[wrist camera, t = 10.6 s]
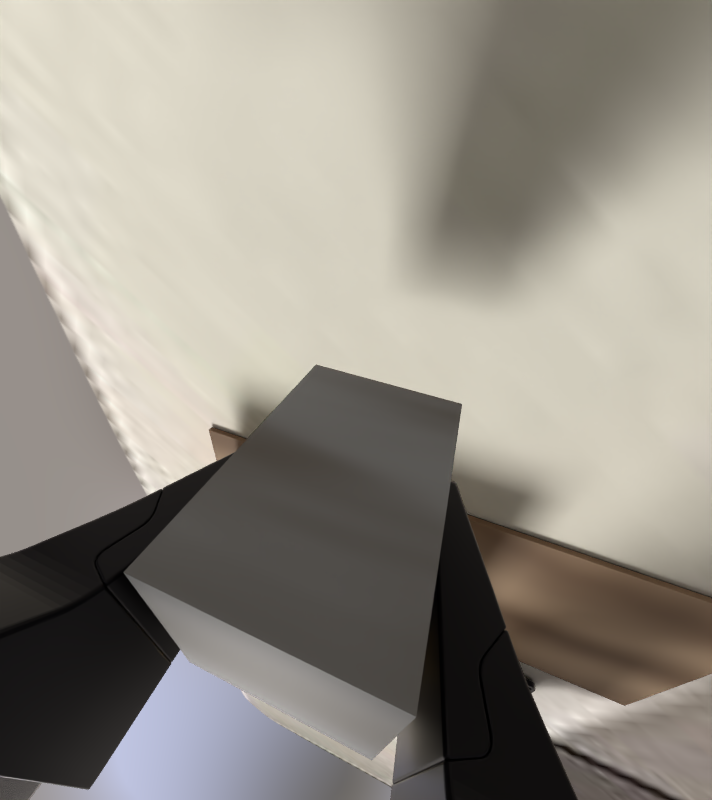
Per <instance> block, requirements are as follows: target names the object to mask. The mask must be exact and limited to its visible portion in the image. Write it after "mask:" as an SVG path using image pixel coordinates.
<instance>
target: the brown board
mask: <svg viewBox="0 0 712 800" xmlns="http://www.w3.org/2000/svg"><path fill="white" fill-rule="evenodd" d="M209 432H210V436H211V440H212V444H213V448H214V452H215V456H216V460H217V461H218V460H220V459H222V458H224V457H226V456H228V455H230V454H232V453H234V452H236V450H237V449H238V448H239V447H240V446H241V445H242V444H243V443H244V442H245V441H246V440H247V439H245V438H242V437H239V436H236V435H233V434H230V433H228V432H225V431H222V430H219V429H216V428H213V427H212V428H211V429H209ZM468 518H469V521H470V524H471V527H472V530H473V532H474V535H475V538H476V541H477V544H478V547H479V550H480V552H481V555H482V558H483V561H484V564H485V567H486V570H487V572H488V575H489V578H490V581H491V584H492V587H493V590H494V592H495V595H496V598H497V601H498V604H499V607H500V610H501V612H502V615H503V618H504V621H505V624H506V629H505V630H507V631H508V632H509V635H510V638H511V641H512V643H513V646H514V649H515V652H516V655H517V658H518V660H519V661H520V662H523V663H525V664H527V665H530V666H532V667H535V668H537V669H539V670H542V671H544V672H546V673H549V674H551V675H553V676H556V677H558V678H560V679H563V680H565V681H568V682H570V683H572V684H575V685H577V686H579V687H582V688H584V689H586V690H589V691H591V692H593V693H596V694H598V695H601V696H603V697H605V698H608V699H610V700H612V701H615V702H617V703H619V704H622V705H624V706H625V705H628V704H630V703H633V702H636V701H639V700H641V699H644V698H647V697H649V696H652V695H655V694H658V693H660V692H663V691H666V690H668V689H671V688H674V687H677V686H679V685H682V684H685V683H687V682H690V681H693V680H696V679H698V678H701V677H704V676H706V675H709V674H712V598H710V597H707V596H704V595H701V594H698V593H695V592H693V591H690V590H687V589H684V588H681V587H678V586H675V585H672V584H669V583H666V582H663V581H660V580H657V579H655V578H652V577H649V576H646V575H643V574H640V573H637V572H634V571H631V570H628V569H625V568H622V567H619V566H617V565H614V564H611V563H608V562H605V561H602V560H599V559H596V558H593V557H590V556H587V555H584V554H581V553H578V552H576V551H573V550H570V549H567V548H564V547H561V546H558V545H555V544H552V543H549V542H546V541H543V540H540V539H538V538H535V537H532V536H529V535H526V534H523V533H520V532H517V531H514V530H511V529H508V528H505V527H502V526H500V525H497V524H494V523H491V522H488V521H485V520H482V519H479V518H476V517H473V516H470V515H468Z"/></svg>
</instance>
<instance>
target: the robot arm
mask: <svg viewBox="0 0 712 800" xmlns="http://www.w3.org/2000/svg"><path fill="white" fill-rule="evenodd" d="M234 453H235V452H234ZM234 453H232V454H230V455H228V456H226V457H224V458H222V459H220V460H218V461H216V462H214V463H212V464H210V465H208V466H206V467H204V468H202V469H200V470H198V471H196V472H194V473H192V474H190V475H188V476H186V477H184V478H182V479H180V480H178V481H176V482H174V483H172V484H170V485H168V486H166V487H164V488H163V490H162V489H160V490H158V491H156V492H154V493H152V494H150V495H148V496H146V497H144V498H142V499H140V500H137V501H135V502H133V503H131V504H129V505H127V506H125V507H123V508H121V509H118V510H116V511H114V512H111V513H109V514H107V515H105V516H102V517H100V518H98V519H95V520H93V521H91V522H88V523H86V524H84V525H81V526H79V527H76V528H74V529H72V530H69V531H67V532H64V533H62V534H59V535H57V536H55V537H52V538H50V539H48V540H45V541H43V542H40V543H38V544H36V545H34V546H31V547H28V548H26V549H23V550H20V551H18V552H15V553H11V554H9V555H5V556H1V557H0V800H30V798H31V797H32V796H33V794H34V793H35V791H36V790H37V789H38V787H39V786H40V785H41V783H47V784H54V785H61V786H67V787H74V788H81V789H90V787H91V786H92V784H93V783H94V782H95V780H96V779H97V777H98V776H99V774H100V773H101V771H102V770H103V768H104V767H105V765H106V764H107V762H108V760H109V759H110V757H111V756H112V754H113V753H114V751H115V750H116V748H117V747H118V745H119V744H120V742H121V740H122V739H123V737H124V736H125V734H126V733H127V731H128V730H129V728H130V726H131V725H132V723H133V722H134V720H135V719H136V717H137V716H138V714H139V713H140V711H141V710H142V708H143V706H144V705H145V703H146V702H147V700H148V699H149V697H150V696H151V694H152V693H153V691H154V690H155V688H156V686H157V685H158V683H159V682H160V680H161V679H162V677H163V676H164V674H165V673H166V671H167V669H168V668H169V666H170V665H171V662H172V661H173V660H174V658H175V657H176V655H177V654H178V652H179V651H180V648H179V647H178V645H177V644H176V643H175V641H174V640H173V639H172V637H171V636H170V635H169V633H168V632H167V631H166V629H165V628H164V627H163V625H162V624H161V623H160V621H159V620H158V618H157V617H156V616H155V614H154V613H153V612H152V610H151V609H150V608H149V606H148V605H147V604H146V602H145V601H144V600H143V598H142V597H141V596H140V594H139V593H138V592H137V590H136V589H135V587H134V586H133V585H132V583H131V582H130V581H129V579H128V578H127V577H126V575H125V574H124V573H123V572H124V571H125V570H126V569H127V568H128V567H129V566H130V565H131V564H132V563H133V562H134V561H135V559H136V558H137V557H138V556H139V555H140V554H141V553H142V552H143V551H144V550H145V549H146V548H147V546H148V545H149V544H150V543H151V542H152V541H153V540H154V539H155V538H156V537H157V536H158V535H159V534H160V532H161V531H162V530H163V529H164V528H165V527H166V526H167V525H168V524H169V523H170V522H171V521H172V520H173V518H174V517H175V516H176V515H177V514H178V513H179V512H180V511H181V510H182V509H183V508H184V507H185V505H186V504H187V503H188V502H189V501H190V500H191V499H192V498H193V497H194V496H195V495H196V494H197V493H198V491H199V490H200V489H201V488H202V487H203V486H204V485H205V484H206V483H207V482H208V481H209V480H210V479H211V477H212V476H213V475H214V474H215V473H216V472H217V471H218V470H219V469H220V468H221V467H222V466H223V464H224V463H225V462H226V461H227V460H228V459H229V458H230V457H231V456H232V455H233V454H234ZM505 629H506V624H505V621H504V618H503V615H502V612H501V610H500V607H499V604H498V601H497V598H496V595H495V592H494V590H493V587H492V584H491V581H490V578H489V575H488V572H487V570H486V567H485V564H484V561H483V558H482V555H481V552H480V550H479V547H478V544H477V541H476V538H475V535H474V532H473V530H472V527H471V524H470V521H469V518H468V515H467V512H466V510H465V507H464V504H463V501H462V498H461V495H460V492H459V490H458V487H457V484H456V483H455V482H454V481H451V483H450V490H449V496H448V503H447V510H446V517H445V524H444V531H443V537H442V544H441V551H440V558H439V565H438V572H437V578H436V585H435V592H434V599H433V606H432V613H431V619H430V626H429V633H428V640H427V647H426V654H425V660H424V667H423V674H422V681H421V688H420V694H419V701H418V708H417V715H416V718H415V719H414V720H413V721H412V722H411V723H409V724H408V725H407V726H406V727H405V728H404V729H403V730H402V731H401V732H400V733H399V734H398V736H397V745H396V754H395V763H394V772H393V785H392V790H391V799H390V800H578V799H577V796H576V794H575V792H574V790H573V787H572V785H571V783H570V781H569V778H568V776H567V774H566V772H565V769H564V767H563V765H562V763H561V760H560V758H559V756H558V754H557V751H556V749H555V747H554V745H553V742H552V740H551V738H550V736H549V734H548V731H547V729H546V727H545V724H544V722H543V720H542V717H541V715H540V713H539V710H538V708H537V706H536V703H535V701H534V699H533V696H532V694H531V693H532V692H534V691H535V684H534V682H532V681H530V680H528V679H526V678H525V676H524V673H523V671H522V668H521V665H520V663H519V660H518V658H517V655H516V652H515V649H514V646H513V643H512V641H511V638H510V635H509V632H508V631H507V630H505Z"/></svg>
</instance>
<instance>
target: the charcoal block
mask: <svg viewBox="0 0 712 800" xmlns="http://www.w3.org/2000/svg"><path fill="white" fill-rule="evenodd" d="M461 408H462V404H460V403H456V402H452V401H449V400H445V399H441V398H438V397H434V396H430V395H427V394H423V393H419V392H415V391H412V390H408V389H404V388H401V387H397V386H393V385H390V384H386V383H382V382H379V381H375V380H371V379H367V378H364V377H360V376H356V375H353V374H349V373H345V372H342V371H338V370H334V369H331V368H327V367H323V366H319V365H315V366H314V367H313V368H312V370H311V371H310V372H309V373H308V374H307V375H306V376H305V377H304V378H303V379H302V380H301V381H300V382H299V384H298V385H297V386H296V387H295V388H294V389H293V390H292V391H291V392H290V393H289V394H288V395H287V397H286V398H285V399H284V400H283V401H282V402H281V403H280V404H279V405H278V406H277V407H276V408H275V409H274V411H273V412H272V413H271V414H270V415H269V416H268V417H267V418H266V419H265V420H264V421H263V422H262V423H261V425H260V426H259V427H258V428H257V429H256V430H255V431H254V432H253V433H252V434H251V435H250V436H249V438H248V439H247V440H246V441H245V442H244V443H243V444H242V445H241V446H240V447H239V448H238V449H237V450H236V452H235V453H234V454H233V455H232V456H231V457H230V458H229V459H228V460H227V461H226V462H225V463H224V464H223V466H222V467H221V468H220V469H219V470H218V471H217V472H216V473H215V474H214V475H213V476H212V477H211V479H210V480H209V481H208V482H207V483H206V484H205V485H204V486H203V487H202V488H201V489H200V490H199V491H198V493H197V494H196V495H195V496H194V497H193V498H192V499H191V500H190V501H189V502H188V503H187V504H186V505H185V507H184V508H183V509H182V510H181V511H180V512H179V513H178V514H177V515H176V516H175V517H174V518H173V520H172V521H171V522H170V523H169V524H168V525H167V526H166V527H165V528H164V529H163V530H162V531H161V532H160V534H159V535H158V536H157V537H156V538H155V539H154V540H153V541H152V542H151V543H150V544H149V545H148V546H147V548H146V549H145V550H144V551H143V552H142V553H141V554H140V555H139V556H138V557H137V558H136V559H135V561H134V562H133V563H132V564H131V565H130V566H129V567H128V568H127V569H126V570H125V571H124V572H123V573H124V574H125V575H126V577H127V578H128V579H129V581H130V582H131V583H132V585H133V586H134V587H135V589H136V590H137V592H138V593H139V594H140V596H141V597H142V598H143V600H144V601H145V602H146V604H147V605H148V606H149V608H150V609H151V610H152V612H153V613H154V614H155V616H156V617H157V618H158V620H159V621H160V623H161V624H162V625H163V627H164V628H165V629H166V631H167V632H168V633H169V635H170V636H171V637H172V639H173V640H174V641H175V643H176V644H177V645H178V647H179V648H180V649H181V651H182V652H183V654H184V655H185V656H186V658H187V659H188V660H189V661H190V662H191V663H193V664H194V665H196V666H198V667H200V668H202V669H204V670H205V671H207V672H209V673H211V674H213V675H215V676H217V677H218V678H220V679H222V680H224V681H226V682H228V683H229V684H231V685H233V686H235V687H237V688H239V689H241V690H242V691H244V692H246V693H248V694H250V695H252V696H253V697H255V698H257V699H259V700H261V701H263V702H265V703H266V704H268V705H270V706H272V707H274V708H276V709H278V710H279V711H281V712H283V713H285V714H287V715H289V716H291V717H292V718H294V719H296V720H298V721H300V722H302V723H304V724H305V725H307V726H309V727H311V728H313V729H315V730H317V731H318V732H320V733H322V734H324V735H326V736H328V737H329V738H331V739H333V740H335V741H337V742H339V743H341V744H342V745H344V746H346V747H348V748H350V749H352V750H354V751H355V752H357V753H359V754H361V755H363V756H365V757H367V758H368V759H370V760H373V759H374V758H375V757H376V756H377V755H378V754H379V753H380V752H381V751H382V750H383V749H384V748H385V747H386V746H387V745H388V744H389V743H390V742H391V741H392V740H393V739H394V738H395V737H396V736H397V735H398V734H399V733H400V732H401V731H402V730H403V729H404V728H405V727H406V726H407V725H408V724H409V723H411V722H412V721H413V720H414V719H415V718H416V715H417V708H418V701H419V694H420V688H421V681H422V674H423V667H424V660H425V654H426V647H427V640H428V633H429V626H430V619H431V613H432V606H433V599H434V592H435V585H436V578H437V572H438V565H439V558H440V551H441V544H442V537H443V531H444V524H445V517H446V510H447V503H448V496H449V490H450V483H451V476H452V469H453V462H454V455H455V449H456V442H457V435H458V428H459V421H460V414H461Z"/></svg>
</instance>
